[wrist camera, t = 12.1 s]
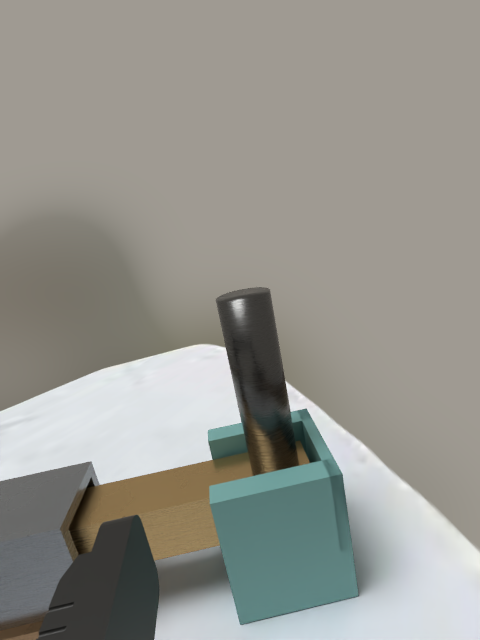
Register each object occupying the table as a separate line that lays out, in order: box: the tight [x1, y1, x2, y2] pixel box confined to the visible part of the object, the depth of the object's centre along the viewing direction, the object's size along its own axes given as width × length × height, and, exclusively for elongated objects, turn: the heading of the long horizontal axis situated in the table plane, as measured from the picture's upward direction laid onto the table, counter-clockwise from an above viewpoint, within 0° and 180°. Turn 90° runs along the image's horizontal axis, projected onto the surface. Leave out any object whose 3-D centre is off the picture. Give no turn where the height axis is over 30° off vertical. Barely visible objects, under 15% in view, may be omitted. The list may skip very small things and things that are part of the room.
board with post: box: [69, 287, 310, 561], centre depth 19 cm, size 14×3×12 cm, turn 96°
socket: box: [208, 409, 359, 625], centre depth 21 cm, size 6×6×8 cm
